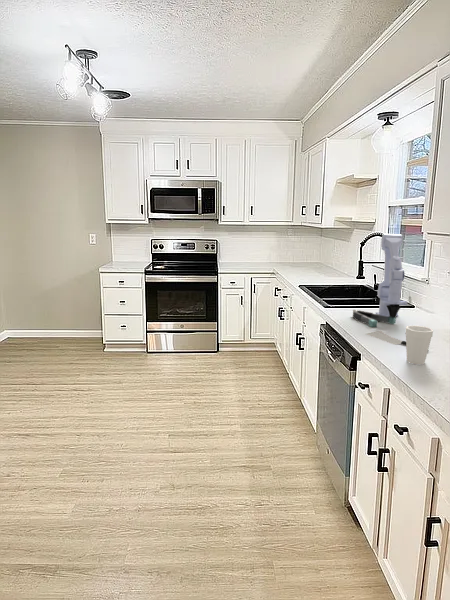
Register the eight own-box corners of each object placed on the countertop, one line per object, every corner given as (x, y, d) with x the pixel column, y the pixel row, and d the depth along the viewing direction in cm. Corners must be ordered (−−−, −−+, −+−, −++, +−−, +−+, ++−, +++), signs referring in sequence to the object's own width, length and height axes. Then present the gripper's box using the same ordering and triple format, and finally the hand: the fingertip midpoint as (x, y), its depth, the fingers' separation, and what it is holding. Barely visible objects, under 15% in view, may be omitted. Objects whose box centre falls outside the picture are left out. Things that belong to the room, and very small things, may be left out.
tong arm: (351, 316, 247) (352, 310, 246) (355, 315, 250) (356, 309, 249) (391, 324, 231) (392, 317, 231) (395, 323, 234) (396, 316, 234)
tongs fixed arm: (351, 318, 244) (352, 312, 243) (356, 318, 245) (357, 312, 244) (371, 327, 226) (372, 320, 225) (377, 326, 227) (377, 320, 226)
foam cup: (404, 364, 172) (408, 330, 169) (400, 357, 181) (403, 324, 178) (431, 366, 170) (436, 332, 168) (425, 359, 179) (429, 326, 177)
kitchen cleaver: (361, 333, 213) (378, 328, 217) (361, 336, 213) (378, 332, 217) (413, 353, 185) (432, 348, 189) (413, 357, 185) (432, 352, 189)
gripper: (387, 294, 229) (384, 321, 232) (412, 294, 233) (409, 320, 236) (378, 292, 236) (376, 318, 239) (403, 291, 240) (400, 317, 242)
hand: (392, 318), depth 238 cm, fingers closed
